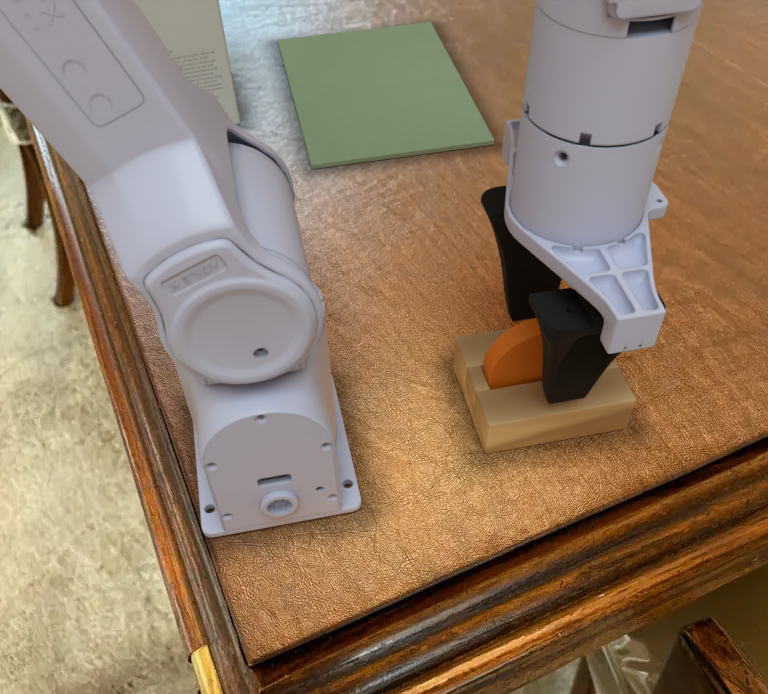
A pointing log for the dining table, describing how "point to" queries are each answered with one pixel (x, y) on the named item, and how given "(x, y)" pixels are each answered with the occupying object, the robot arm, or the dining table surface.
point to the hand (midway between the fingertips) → (545, 353)
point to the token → (515, 356)
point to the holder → (535, 403)
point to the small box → (196, 44)
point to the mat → (379, 95)
